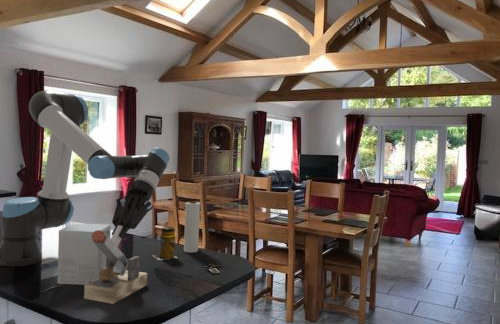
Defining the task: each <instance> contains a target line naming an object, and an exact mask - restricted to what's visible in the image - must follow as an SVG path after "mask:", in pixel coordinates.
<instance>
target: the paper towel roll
mask: <svg viewBox="0 0 500 324" xmlns="http://www.w3.org/2000/svg"><path fill="white" fill-rule="evenodd" d="M200 209H201V202H197V201H188V202H185V215H184V237H183V238H184V239H183V240H184V241H183V252H185V253H189V254H190V253H197V252H198V251H199V242H200V241H199V234H200V215H201V214H200V211H201V210H200Z"/></svg>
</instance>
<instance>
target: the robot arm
mask: <svg viewBox="0 0 500 324" xmlns="http://www.w3.org/2000/svg"><path fill="white" fill-rule="evenodd" d="M28 111H29V114H30V116H31V117H32V119H33V120H34V121H35V123H37V124H38V125H39V126H40V127H42V128H44V129H45V128H46V129H48V130H49V131H50V137H49V144H48V150H47V157H46V164H45V170H44V177H43V185H42V189H41V190H40V191H38V192H37V195H36V196H37V197H35V196H24V197H16V198H11V199H9V200H6V202H4V204H3V207H2V213H1V216H2V224H1V225H2V227H1V228H2V229H1V231H2V233H1V236H2V237H1V243H0V266H1V267H10V268H11V267H12V268H13V267H25V266H30V265H31V266H32V265H34V264H37V263H38V264H39V263H40V262H42V260H43V253H42V250H41V247H40V244H39V241H38V232H39V231H41V230H45V229H53V228H58V227H61V226H64V225H66V224H67V223H69V222H70V221H71V219H72V217H73V216H74V210H75V209H74V204H73V201H72V200H71V199H70V194H68V192H67V187H68V186H67V185H68V180H69V174H70V167H71V162H72V161H71V159H72V153H74V154H76V156H77V157H79V158H80V159H81V160H82V161H83V162H85V164H87V171H88V172H89V175H90V176H91V177H92V178H94V179H96V180H109V179H118V178H131V177H135V178H134V181H133V182H132V183H131V185H130V187H129V190H128V193H127V194H126V195H125V196H124V198H122V199H120V198H117V199H116V207H115V210H114V214H113V218H112V221H111V223H112V224H113V226H114V229H113V231H112V232H111V237H110V239H111V240H112V241H113V243H114V244H115V245H116V246H117V247H119V244H120V242H121V241H122V239H124V238H125V237H126V236H127V233H128V232H129V230H135V229H136V228H137V226H138V225H139V224H140V223H141V222H142V221H143V219H144V217H146V215H147V214H148V212H150V211H151V210H153V209H154V206H153V204H152V202H151V201H150V200H151V198H152V196H153V194H154V192H155V190H156V188H158V187H157V186H158V184H159V182H160V180H161V178H162V176H163V174H164V173H165V171H166V169H167V167H168V164H169V162H170V158H171V157H170V155H169V154H168V151H166V150H165V149H163V148H160V147H153V148H152V149H151V150H150V151H149V152H148V154H142V155H112V154H111V153H109V152H108V151H107V150H105V149H104V147H102V146H101V145H100V143H98V142H96V141H95V140H94V139H93V138H92V137H91V136H90V135H89V134H87V133H86V131H84V129H82V128H81V125H82V124H85V122H86V121H87V120H88V117H89V107H88V104H87V102H86V101H85V99H84V98H83V97H81V96H79V95H76V94H73V93H67V92H60V91H53V90H47V89H46V90H41V91H38V92H36V93H35V94H33V96H32V97H31V98H30V101H29V103H28Z"/></svg>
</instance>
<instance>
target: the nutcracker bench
mask: <svg viewBox="0 0 500 324" xmlns="http://www.w3.org/2000/svg"><path fill="white" fill-rule="evenodd" d="M127 259H128V267H127V269H126V271H125V274H124V276H120V275H115V274H114V272H113V268H114V266H115V265H113V263H112V262H111V261H110V260H109V259H108V258H107V257H106V267H105V268H103V269H102V270H101V271H100V279H97V280H95V281H93V282H91V283H88V284H86V285H83V286H84V293H83V298H84V300H91V301H95V302H100V303H106V304H111V305H113V304H115V303H117V302H119V301H121V300H123V299H124V298H126V297H128V296H130V295H132V294H133V293H136V292H137V291H139V290H140V289H142V288H144V287H146V286H147V285H148V273H147V272H142V271H140V256H138V255H135V256H132V257H130V258H127Z"/></svg>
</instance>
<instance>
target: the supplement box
mask: <svg viewBox="0 0 500 324" xmlns="http://www.w3.org/2000/svg"><path fill="white" fill-rule="evenodd" d="M111 228H112V227H111V224H104V223H103V224H102V223H76V222H74V223H71V224H70V225H67V226H65V227H64V228H61V229H59V230H58V250H57V251H58V257H57V284H58V285H82V286H85V285H86V284H88V283H91V282H93V281H95V280H97V279H100V271H101V270H102V269H103V268H105V267H106V256H105V255H104V254H103V253H102V251H101V250H100V249H99V248H98V247H97V246H96V245H95V244H94V243H93V240H92V238H91V237H92V234H93V232H95V231H97V230H100V231H102V232H103V233H104V235H105V236H108V237H109V238H110V239H111Z"/></svg>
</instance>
